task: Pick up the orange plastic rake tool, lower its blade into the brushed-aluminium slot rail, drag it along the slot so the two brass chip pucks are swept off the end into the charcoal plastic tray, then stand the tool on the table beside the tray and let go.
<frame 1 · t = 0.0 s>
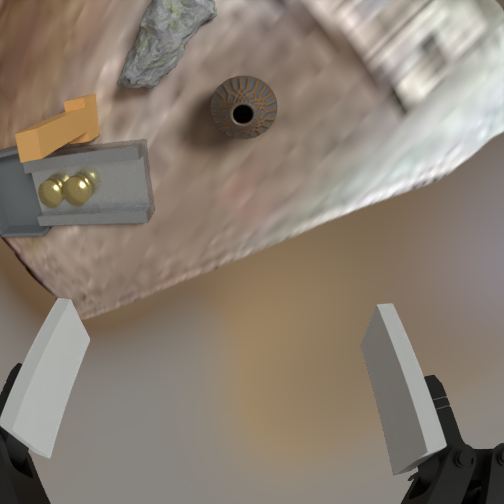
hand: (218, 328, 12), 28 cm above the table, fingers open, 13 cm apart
chip tray: (18, 188, 37), on the table
brass chip 2: (81, 186, 36), point 2 cm above the table, touching slot rail
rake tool: (87, 116, 32), on the table
slot rail: (90, 180, 37), on the table
vase: (244, 102, 33), on the table
brass chip 1: (56, 188, 35), point 2 cm above the table, touching slot rail
mineral specimen: (174, 26, 27), on the table
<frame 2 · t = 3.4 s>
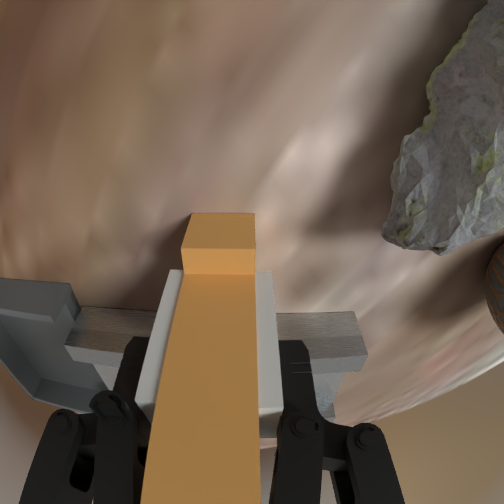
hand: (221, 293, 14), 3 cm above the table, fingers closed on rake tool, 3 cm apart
chip tray: (49, 342, 21), on the table
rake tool: (224, 260, 16), on the table, touching gripper
slot rail: (216, 360, 21), on the table
mineral specimen: (468, 91, 11), on the table
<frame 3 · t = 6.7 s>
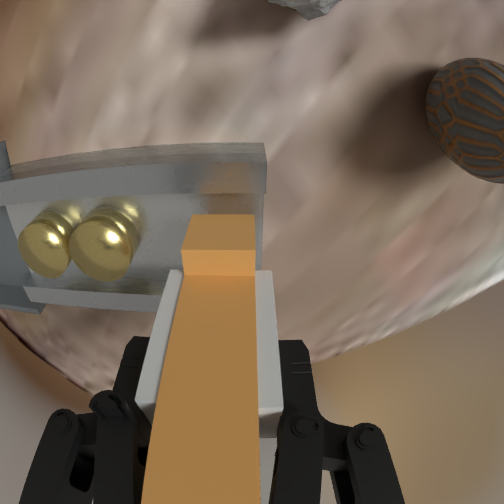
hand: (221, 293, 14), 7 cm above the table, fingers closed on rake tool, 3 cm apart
brass chip 2: (109, 236, 18), point 2 cm above the table, touching slot rail
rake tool: (224, 261, 16), point 4 cm above the table, touching gripper
slot rail: (126, 220, 19), on the table
vase: (451, 104, 15), on the table
brass chip 1: (54, 236, 18), point 2 cm above the table, touching slot rail
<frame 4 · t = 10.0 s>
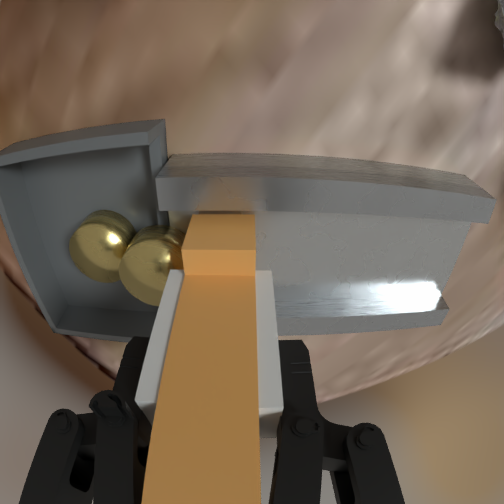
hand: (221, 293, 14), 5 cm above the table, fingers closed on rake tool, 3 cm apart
chip tray: (98, 234, 18), on the table
brass chip 2: (163, 255, 17), point 2 cm above the table, touching brass chip 1, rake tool
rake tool: (225, 261, 16), point 3 cm above the table, touching brass chip 2, gripper
slot rail: (328, 236, 19), on the table
brass chip 1: (109, 237, 18), resting on chip tray, touching brass chip 2
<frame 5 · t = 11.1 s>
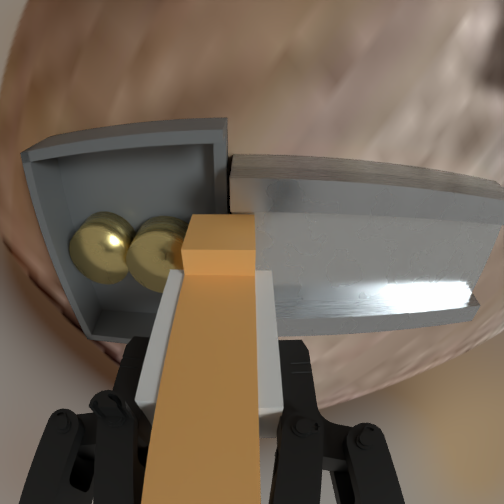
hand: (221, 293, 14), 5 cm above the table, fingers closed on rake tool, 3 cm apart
chip tray: (143, 235, 18), on the table
brass chip 2: (168, 245, 18), point 1 cm above the table, touching brass chip 1, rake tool
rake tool: (224, 261, 16), point 3 cm above the table, touching brass chip 2, gripper
slot rail: (376, 237, 19), on the table
brass chip 1: (109, 239, 18), resting on chip tray, touching brass chip 2
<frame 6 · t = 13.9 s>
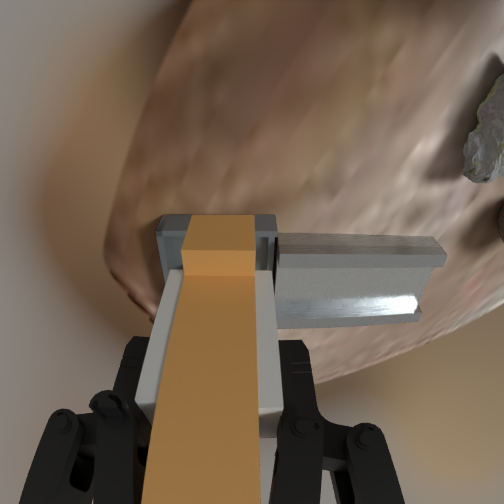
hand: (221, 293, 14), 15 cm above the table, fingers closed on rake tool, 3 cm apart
chip tray: (220, 272, 33), on the table
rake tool: (224, 261, 16), point 13 cm above the table, touching gripper
slot rail: (354, 272, 33), on the table
mineral specimen: (492, 112, 22), on the table
when the fingers open (4 cm above the table, at t = 16.0 s): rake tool stays where it is, on the table.
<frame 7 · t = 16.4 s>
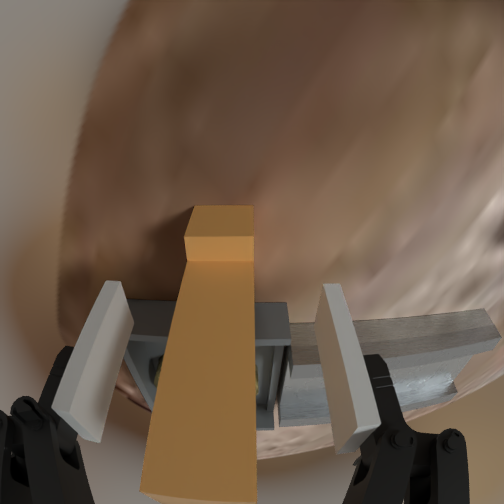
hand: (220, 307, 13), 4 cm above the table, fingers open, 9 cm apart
chip tray: (210, 364, 23), on the table
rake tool: (225, 250, 17), on the table
slot rail: (384, 357, 24), on the table
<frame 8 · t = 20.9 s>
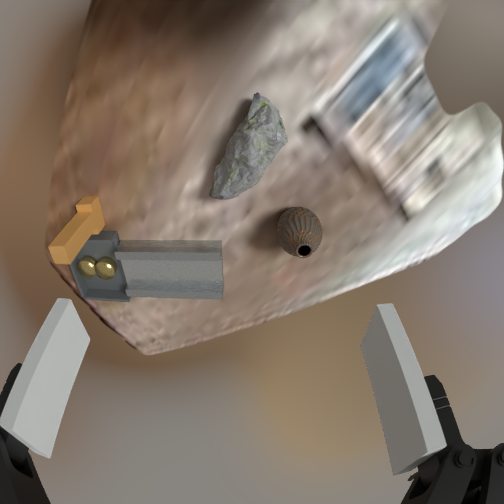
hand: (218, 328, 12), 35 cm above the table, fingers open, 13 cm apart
chip tray: (100, 262, 54), on the table
brass chip 2: (107, 265, 53), resting on chip tray
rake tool: (94, 211, 47), on the table
slot rail: (172, 264, 54), on the table
vase: (295, 219, 49), on the table
brass chip 1: (90, 263, 53), resting on chip tray
mineral specimen: (251, 143, 42), on the table
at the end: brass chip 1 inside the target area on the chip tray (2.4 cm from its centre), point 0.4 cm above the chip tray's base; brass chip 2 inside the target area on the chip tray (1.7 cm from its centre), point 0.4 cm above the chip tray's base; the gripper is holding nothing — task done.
